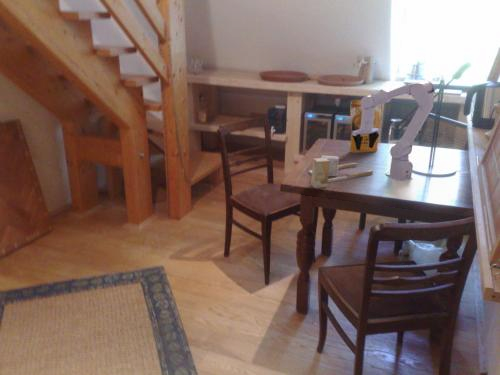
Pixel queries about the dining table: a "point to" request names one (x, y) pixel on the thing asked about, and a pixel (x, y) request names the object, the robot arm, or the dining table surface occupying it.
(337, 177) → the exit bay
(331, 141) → the dining table surface
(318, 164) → the skincare box
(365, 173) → the pair of tan bars
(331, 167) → the medicine box
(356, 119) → the pancake mix bag
